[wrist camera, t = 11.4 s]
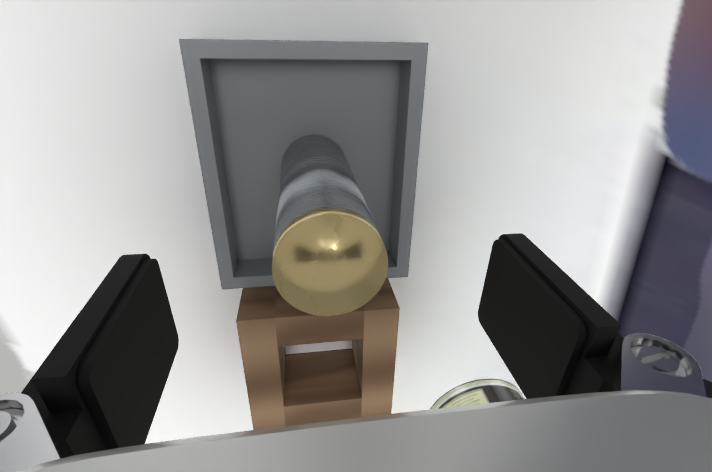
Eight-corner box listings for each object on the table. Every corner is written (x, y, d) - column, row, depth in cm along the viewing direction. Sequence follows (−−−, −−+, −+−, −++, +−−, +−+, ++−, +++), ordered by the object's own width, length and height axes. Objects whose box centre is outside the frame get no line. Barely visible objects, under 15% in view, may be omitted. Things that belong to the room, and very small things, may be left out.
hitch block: (245, 275, 28) (236, 321, 23) (383, 267, 29) (399, 308, 24) (259, 378, 32) (253, 432, 28) (378, 366, 33) (391, 416, 29)
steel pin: (279, 134, 23) (266, 218, 12) (347, 133, 23) (391, 213, 13) (284, 198, 25) (276, 320, 14) (346, 196, 25) (385, 311, 14)
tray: (193, 39, 21) (179, 39, 18) (412, 42, 22) (428, 42, 20) (229, 264, 27) (222, 289, 24) (397, 254, 29) (407, 276, 26)
